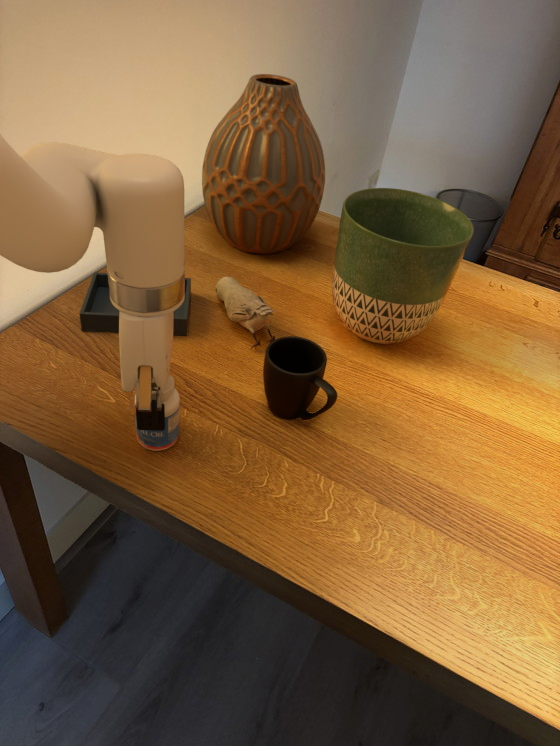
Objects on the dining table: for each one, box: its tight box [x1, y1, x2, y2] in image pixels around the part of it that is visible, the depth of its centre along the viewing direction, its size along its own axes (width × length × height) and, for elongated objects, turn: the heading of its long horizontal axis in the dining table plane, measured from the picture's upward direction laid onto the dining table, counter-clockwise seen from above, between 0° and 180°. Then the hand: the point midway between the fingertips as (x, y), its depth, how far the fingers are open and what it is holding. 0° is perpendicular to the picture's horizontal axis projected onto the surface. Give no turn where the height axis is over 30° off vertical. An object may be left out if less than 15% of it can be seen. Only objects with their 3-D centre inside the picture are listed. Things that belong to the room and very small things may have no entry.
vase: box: [201, 73, 326, 255], centre depth 105 cm, size 24×24×30 cm
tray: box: [79, 271, 192, 337], centre depth 89 cm, size 16×12×3 cm
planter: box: [331, 187, 475, 345], centre depth 87 cm, size 20×20×21 cm
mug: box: [262, 335, 338, 422], centre depth 73 cm, size 8×12×10 cm
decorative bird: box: [215, 275, 277, 350], centre depth 89 cm, size 5×16×8 cm, turn 33°
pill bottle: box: [133, 373, 181, 452], centre depth 67 cm, size 6×5×10 cm
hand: (153, 409), depth 67 cm, fingers closed on pill bottle, 5 cm apart
